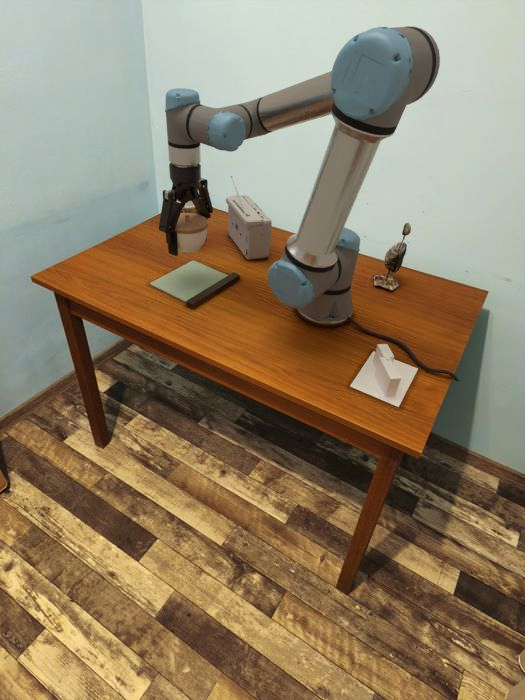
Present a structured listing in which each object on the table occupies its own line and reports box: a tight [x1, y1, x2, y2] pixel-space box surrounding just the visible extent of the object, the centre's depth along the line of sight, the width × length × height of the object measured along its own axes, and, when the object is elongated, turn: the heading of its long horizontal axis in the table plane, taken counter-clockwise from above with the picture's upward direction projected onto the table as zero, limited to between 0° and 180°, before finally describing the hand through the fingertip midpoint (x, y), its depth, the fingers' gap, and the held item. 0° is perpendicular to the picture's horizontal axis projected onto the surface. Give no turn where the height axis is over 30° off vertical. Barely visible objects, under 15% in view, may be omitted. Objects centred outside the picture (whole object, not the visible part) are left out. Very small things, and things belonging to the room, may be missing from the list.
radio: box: [225, 175, 273, 261], centre depth 143 cm, size 21×8×20 cm, turn 22°
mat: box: [149, 259, 229, 304], centre depth 130 cm, size 14×18×1 cm
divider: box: [185, 271, 241, 310], centre depth 126 cm, size 2×20×2 cm, turn 144°
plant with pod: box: [373, 222, 412, 291], centre depth 131 cm, size 8×11×20 cm
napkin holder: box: [349, 343, 419, 408], centre depth 102 cm, size 15×11×6 cm
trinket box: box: [170, 213, 209, 254], centre depth 121 cm, size 11×11×9 cm
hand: (188, 246), depth 124 cm, fingers closed on trinket box, 11 cm apart
